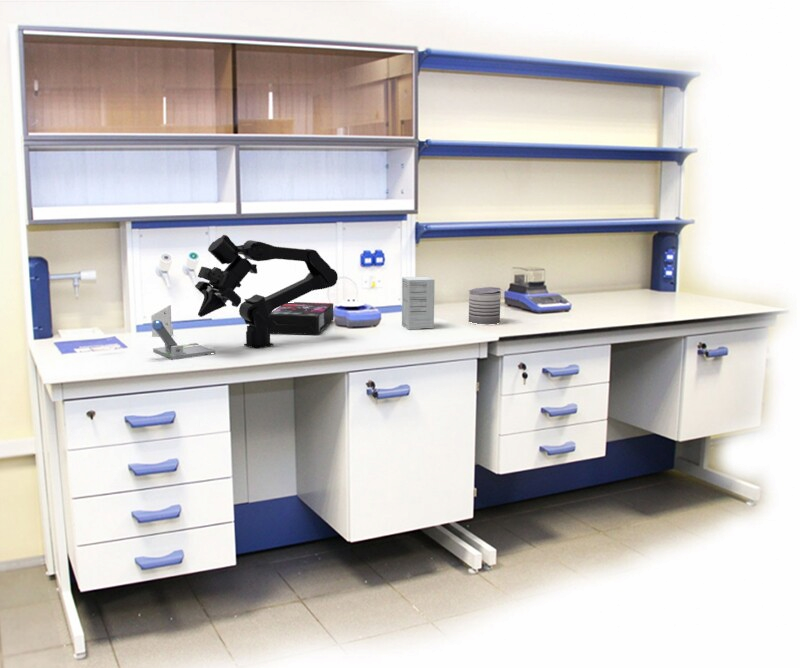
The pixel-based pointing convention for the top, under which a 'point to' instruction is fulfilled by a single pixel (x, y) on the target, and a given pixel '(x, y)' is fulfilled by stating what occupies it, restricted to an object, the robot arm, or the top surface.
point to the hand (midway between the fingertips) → (199, 315)
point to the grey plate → (163, 320)
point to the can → (484, 305)
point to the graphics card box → (301, 318)
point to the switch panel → (183, 351)
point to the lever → (163, 334)
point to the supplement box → (417, 302)
